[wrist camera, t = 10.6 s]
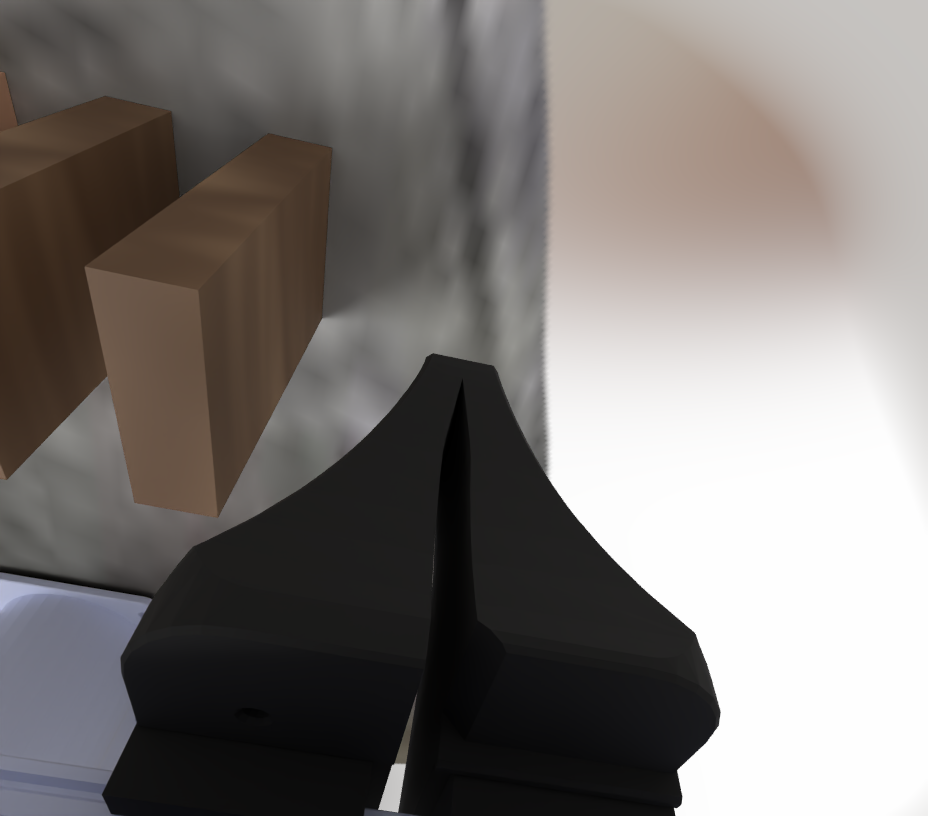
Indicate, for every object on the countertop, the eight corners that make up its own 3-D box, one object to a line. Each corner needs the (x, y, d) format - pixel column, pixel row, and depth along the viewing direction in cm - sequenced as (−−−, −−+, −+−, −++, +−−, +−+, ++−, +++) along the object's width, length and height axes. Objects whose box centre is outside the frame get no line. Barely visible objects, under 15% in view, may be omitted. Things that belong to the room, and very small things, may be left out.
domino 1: (171, 111, 14) (-93, 230, 8) (188, 291, 18) (7, 480, 11) (104, 96, 14) (-216, 205, 8) (134, 279, 17) (-81, 464, 11)
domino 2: (331, 147, 15) (198, 290, 8) (321, 318, 18) (217, 517, 11) (268, 133, 15) (85, 266, 8) (269, 308, 18) (134, 502, 11)
